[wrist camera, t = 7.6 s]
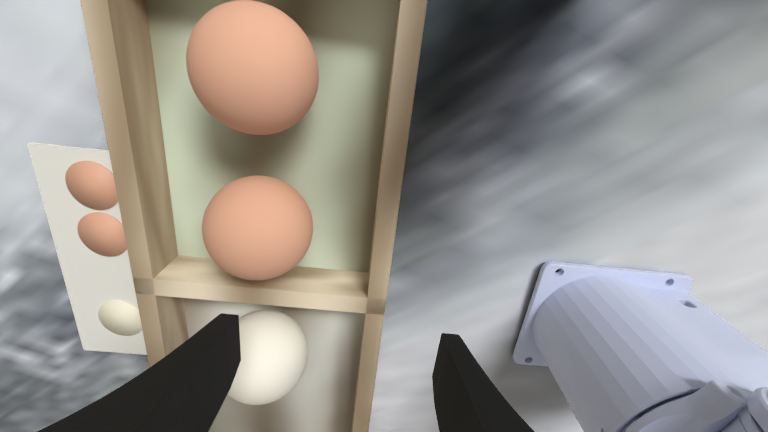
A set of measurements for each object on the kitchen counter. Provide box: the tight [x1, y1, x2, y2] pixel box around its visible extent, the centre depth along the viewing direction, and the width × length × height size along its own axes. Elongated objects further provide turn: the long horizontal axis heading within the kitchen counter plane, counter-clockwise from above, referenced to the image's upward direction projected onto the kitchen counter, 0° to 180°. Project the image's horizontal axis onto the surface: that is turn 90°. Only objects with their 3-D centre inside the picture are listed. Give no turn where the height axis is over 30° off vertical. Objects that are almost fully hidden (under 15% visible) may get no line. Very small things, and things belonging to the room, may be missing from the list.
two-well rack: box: [81, 0, 427, 432], centre depth 20 cm, size 13×31×4 cm, turn 174°
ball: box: [186, 0, 319, 135], centre depth 15 cm, size 5×5×5 cm
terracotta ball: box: [202, 175, 313, 280], centre depth 17 cm, size 5×5×5 cm
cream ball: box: [228, 310, 308, 405], centre depth 20 cm, size 5×5×5 cm
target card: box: [27, 142, 147, 355], centre depth 22 cm, size 6×14×1 cm, turn 174°
